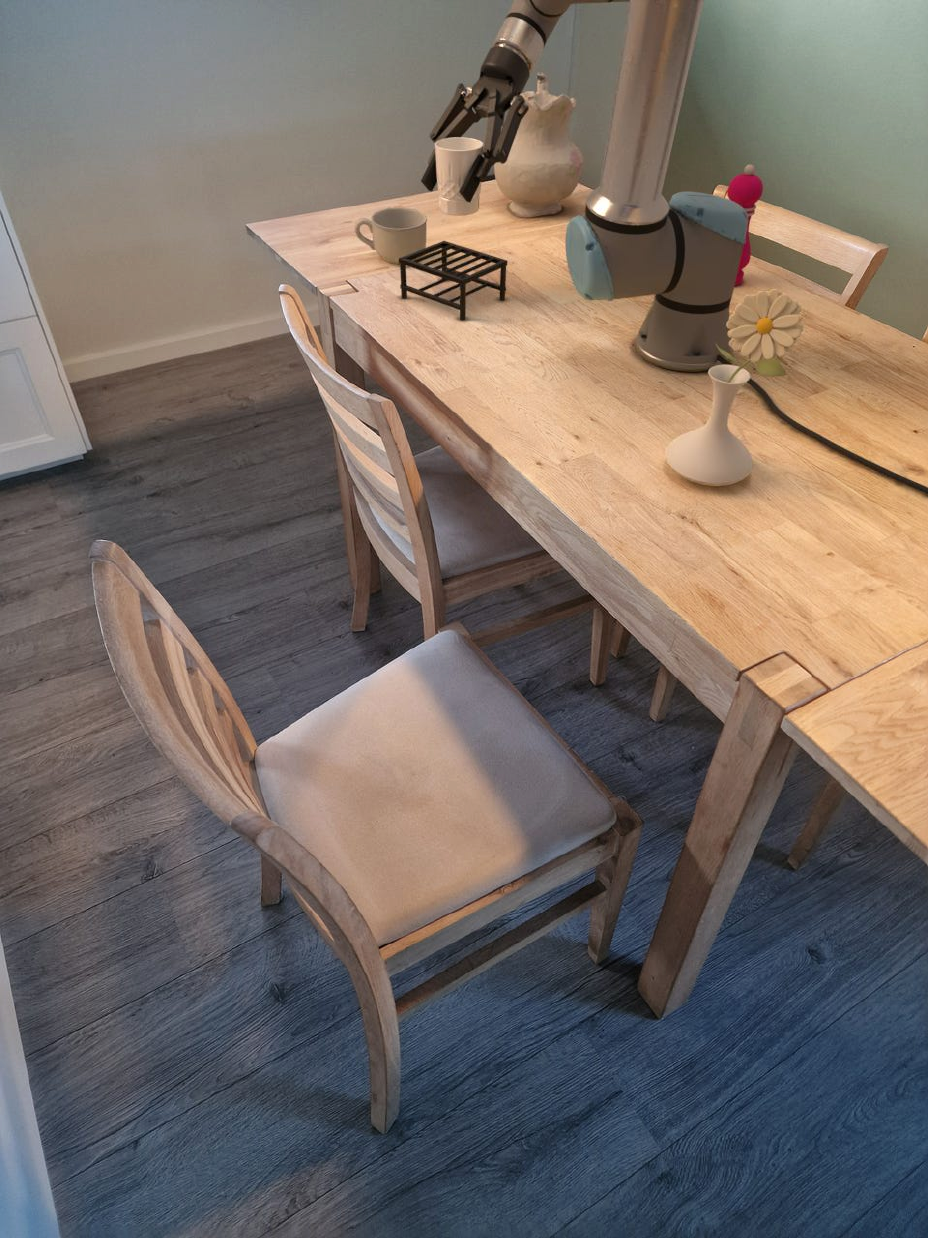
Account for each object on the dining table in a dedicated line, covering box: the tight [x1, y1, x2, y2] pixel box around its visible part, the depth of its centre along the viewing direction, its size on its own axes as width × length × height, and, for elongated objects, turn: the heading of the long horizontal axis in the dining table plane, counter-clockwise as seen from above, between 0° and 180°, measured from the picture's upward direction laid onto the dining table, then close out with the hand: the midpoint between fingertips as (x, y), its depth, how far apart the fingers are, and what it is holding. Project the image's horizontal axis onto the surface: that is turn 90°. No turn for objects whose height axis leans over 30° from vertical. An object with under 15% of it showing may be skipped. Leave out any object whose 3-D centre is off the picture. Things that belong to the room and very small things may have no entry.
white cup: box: [434, 136, 485, 217], centre depth 138 cm, size 8×8×10 cm
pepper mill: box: [726, 164, 764, 287], centre depth 152 cm, size 7×7×20 cm
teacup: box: [354, 206, 428, 265], centre depth 163 cm, size 14×11×8 cm
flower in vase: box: [664, 288, 805, 487], centre depth 102 cm, size 13×11×25 cm
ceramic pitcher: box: [493, 71, 584, 218], centre depth 181 cm, size 22×20×25 cm
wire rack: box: [399, 240, 508, 321], centre depth 149 cm, size 15×12×7 cm
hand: (445, 191), depth 137 cm, fingers closed on white cup, 8 cm apart
